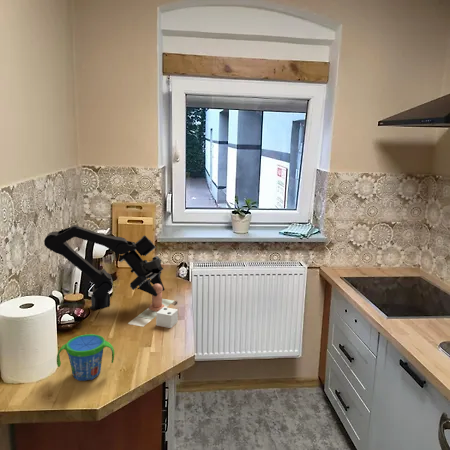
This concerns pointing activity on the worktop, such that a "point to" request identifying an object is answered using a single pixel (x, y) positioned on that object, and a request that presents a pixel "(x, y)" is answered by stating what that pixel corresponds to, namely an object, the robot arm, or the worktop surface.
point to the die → (167, 317)
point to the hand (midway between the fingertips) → (160, 293)
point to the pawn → (157, 298)
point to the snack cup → (85, 355)
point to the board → (149, 314)
